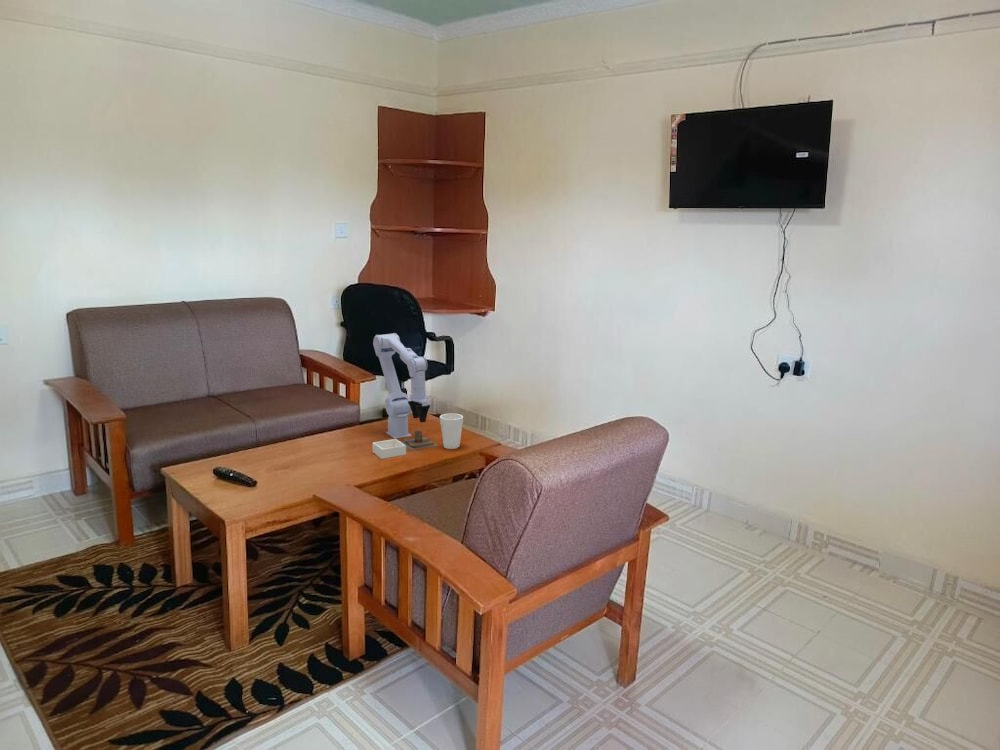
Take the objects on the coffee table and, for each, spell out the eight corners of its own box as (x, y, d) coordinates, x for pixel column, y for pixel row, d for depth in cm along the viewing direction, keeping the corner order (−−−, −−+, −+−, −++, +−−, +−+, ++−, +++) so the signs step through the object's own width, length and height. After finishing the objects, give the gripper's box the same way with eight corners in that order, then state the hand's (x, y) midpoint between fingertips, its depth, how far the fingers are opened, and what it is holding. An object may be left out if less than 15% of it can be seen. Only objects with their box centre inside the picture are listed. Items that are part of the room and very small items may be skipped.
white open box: (372, 452, 280) (372, 442, 279) (396, 448, 285) (395, 438, 284) (382, 459, 271) (382, 449, 270) (406, 455, 276) (406, 445, 275)
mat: (399, 442, 292) (399, 441, 292) (425, 438, 298) (425, 437, 298) (411, 450, 282) (411, 449, 282) (438, 446, 288) (438, 445, 288)
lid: (403, 442, 291) (403, 430, 290) (424, 438, 296) (424, 427, 295) (412, 448, 283) (412, 436, 282) (434, 444, 288) (434, 433, 287)
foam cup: (464, 444, 291) (464, 414, 288) (461, 451, 282) (461, 420, 279) (442, 443, 291) (441, 413, 289) (437, 450, 282) (437, 419, 280)
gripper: (434, 389, 279) (435, 422, 282) (421, 383, 292) (422, 415, 295) (417, 391, 276) (418, 424, 279) (405, 384, 289) (406, 417, 292)
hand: (419, 419), depth 287 cm, fingers open, 7 cm apart
